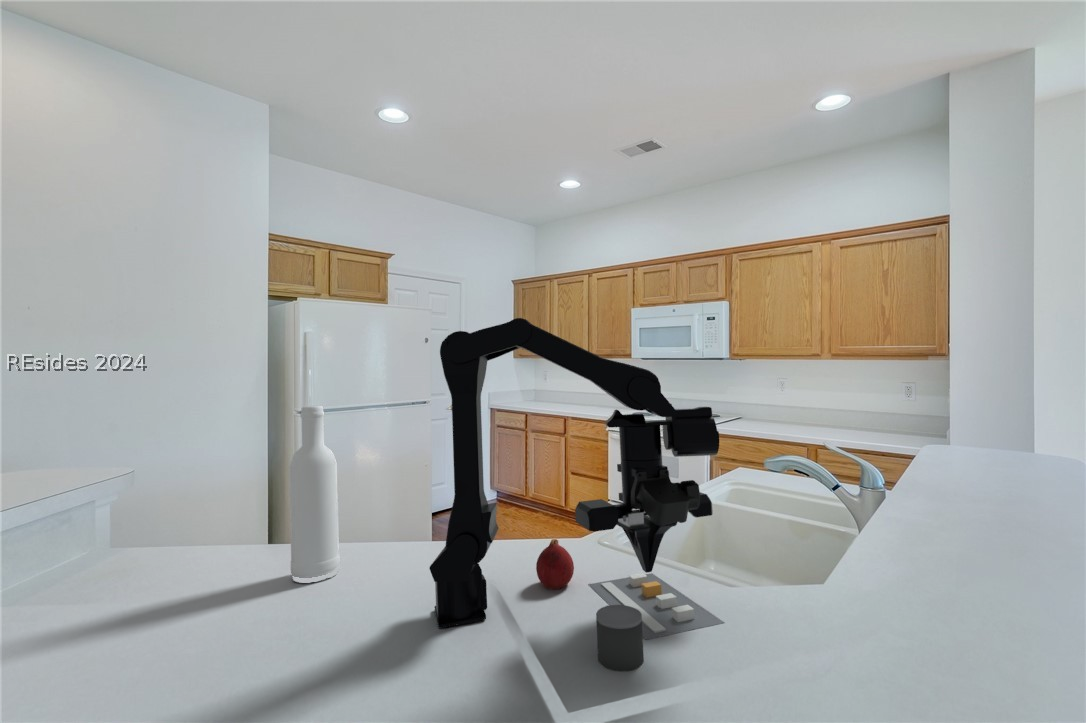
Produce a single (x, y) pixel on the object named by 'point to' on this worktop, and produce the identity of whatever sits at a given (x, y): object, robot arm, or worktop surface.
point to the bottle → (313, 501)
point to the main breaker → (651, 589)
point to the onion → (554, 566)
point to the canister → (619, 637)
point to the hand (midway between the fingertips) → (647, 571)
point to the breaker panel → (656, 606)
